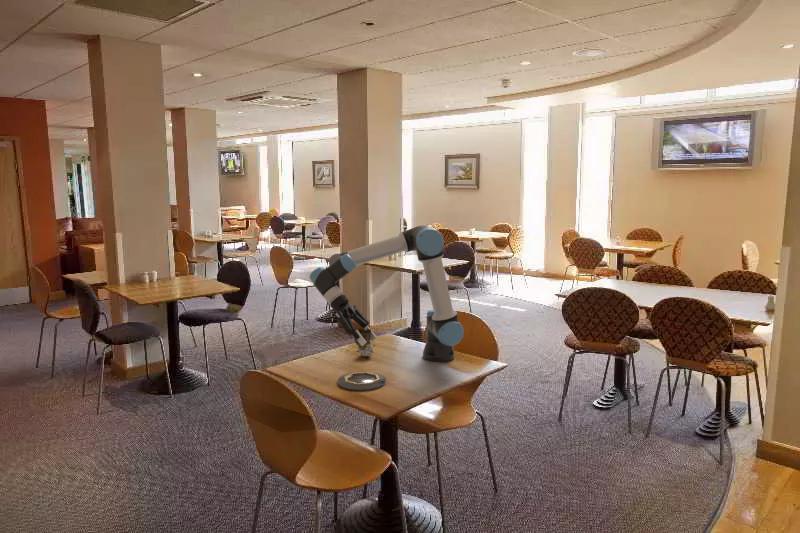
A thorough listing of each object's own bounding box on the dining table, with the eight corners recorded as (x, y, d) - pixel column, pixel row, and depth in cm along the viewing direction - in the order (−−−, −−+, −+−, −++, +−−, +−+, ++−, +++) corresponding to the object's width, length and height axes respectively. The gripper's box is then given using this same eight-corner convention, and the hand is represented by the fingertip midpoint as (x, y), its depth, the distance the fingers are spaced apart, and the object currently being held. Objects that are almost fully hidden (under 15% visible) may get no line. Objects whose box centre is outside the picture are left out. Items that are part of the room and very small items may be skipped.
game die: (364, 362, 283) (366, 343, 288) (377, 359, 278) (379, 340, 283) (351, 357, 277) (354, 337, 282) (364, 354, 272) (366, 334, 277)
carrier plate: (381, 372, 257) (381, 368, 257) (389, 388, 238) (389, 384, 237) (335, 376, 253) (335, 371, 253) (340, 392, 234) (340, 387, 233)
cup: (350, 350, 241) (350, 331, 240) (357, 345, 248) (357, 327, 247) (367, 352, 239) (367, 333, 237) (374, 347, 245) (374, 329, 244)
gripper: (344, 300, 257) (376, 341, 252) (317, 309, 239) (350, 353, 234) (354, 289, 253) (387, 330, 248) (327, 298, 236) (362, 342, 231)
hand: (369, 341), depth 241 cm, fingers closed on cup, 7 cm apart
